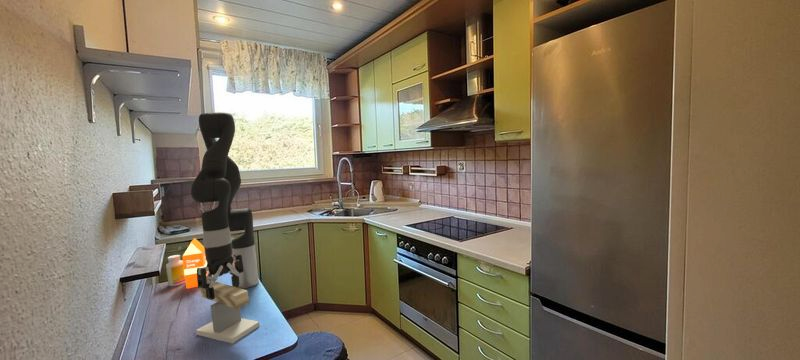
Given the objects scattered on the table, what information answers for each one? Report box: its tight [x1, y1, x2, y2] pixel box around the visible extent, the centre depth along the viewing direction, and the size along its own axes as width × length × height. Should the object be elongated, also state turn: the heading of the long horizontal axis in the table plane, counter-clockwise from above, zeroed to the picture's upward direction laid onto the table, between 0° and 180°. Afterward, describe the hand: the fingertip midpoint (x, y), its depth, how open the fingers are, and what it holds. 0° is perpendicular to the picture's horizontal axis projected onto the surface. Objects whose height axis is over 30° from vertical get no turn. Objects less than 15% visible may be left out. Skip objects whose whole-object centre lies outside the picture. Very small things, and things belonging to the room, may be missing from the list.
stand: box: [195, 302, 260, 345], centre depth 103 cm, size 16×10×10 cm, turn 66°
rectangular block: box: [200, 280, 250, 309], centre depth 103 cm, size 20×4×4 cm, turn 58°
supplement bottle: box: [165, 254, 186, 287], centre depth 148 cm, size 7×7×13 cm
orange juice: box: [181, 237, 209, 290], centre depth 146 cm, size 8×9×20 cm
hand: (224, 293), depth 103 cm, fingers open, 8 cm apart
